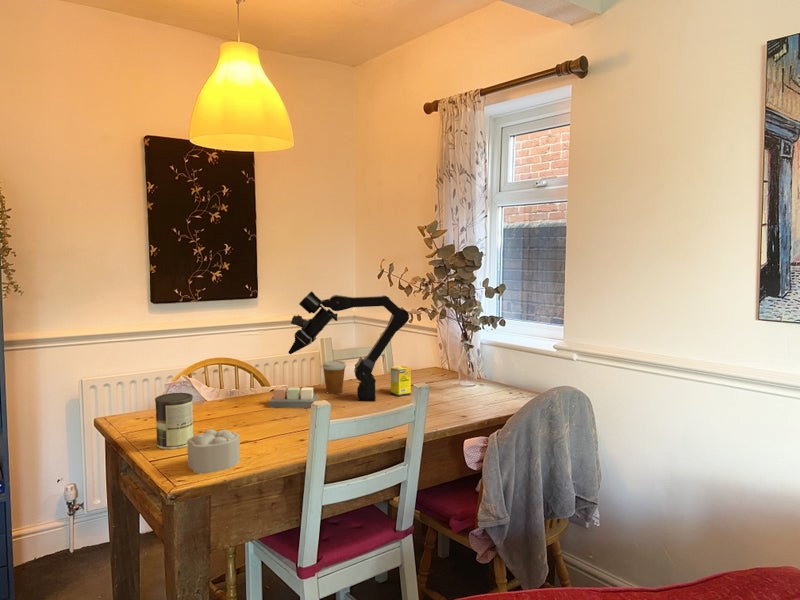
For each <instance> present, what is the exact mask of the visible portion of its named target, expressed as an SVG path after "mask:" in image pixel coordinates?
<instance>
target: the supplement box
mask: <svg viewBox="0 0 800 600" xmlns="http://www.w3.org/2000/svg"><path fill="white" fill-rule="evenodd" d="M411 369H412V368H411V367H407V366H405V365H397V366H390V394H391V395H394V396H396V397H404V396H410V395H411V389H412V388H411V384H412V383H411V382H412V381H411V380H412V379H411V378H412V376H411V375H412V370H411Z"/></svg>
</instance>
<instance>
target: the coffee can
mask: <svg viewBox="0 0 800 600" xmlns="http://www.w3.org/2000/svg"><path fill="white" fill-rule="evenodd" d="M193 399H194V396H193V394H192V393H189V392H188V393H187V392H173V393H172V392H171V393H164V394H161V395H159V396H156V397H155V398H154V402H155V421H156V424H155V426H156V429H155V430H156V447H157V448H158V447H159V449H160V448H162V449H161V450H177V449H178V448H179V449H183V448H187V440H188V439H189V438H191V437H194V420H193V419H194V415H193V411H194V410H193Z"/></svg>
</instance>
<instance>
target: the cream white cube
mask: <svg viewBox="0 0 800 600" xmlns="http://www.w3.org/2000/svg"><path fill="white" fill-rule="evenodd" d="M300 395H301V400H312V399H313V395H314V387H302V388H300Z"/></svg>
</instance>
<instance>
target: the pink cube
mask: <svg viewBox="0 0 800 600" xmlns="http://www.w3.org/2000/svg"><path fill="white" fill-rule="evenodd" d="M287 390H288V387H284V386H283V387H282V386H281V387H279V386H278V387H276V386H275V388H274V389H273V396H274V399H286V398H287Z"/></svg>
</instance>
